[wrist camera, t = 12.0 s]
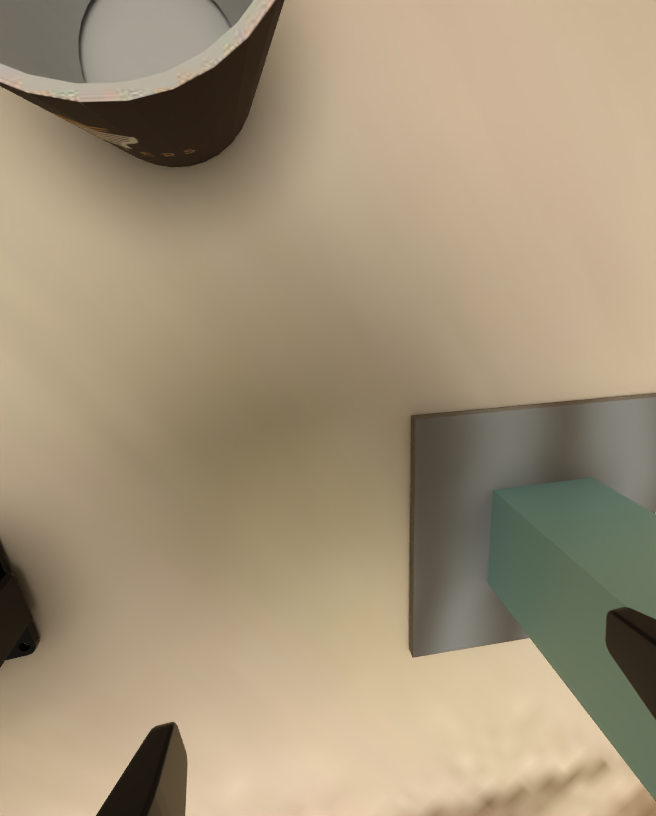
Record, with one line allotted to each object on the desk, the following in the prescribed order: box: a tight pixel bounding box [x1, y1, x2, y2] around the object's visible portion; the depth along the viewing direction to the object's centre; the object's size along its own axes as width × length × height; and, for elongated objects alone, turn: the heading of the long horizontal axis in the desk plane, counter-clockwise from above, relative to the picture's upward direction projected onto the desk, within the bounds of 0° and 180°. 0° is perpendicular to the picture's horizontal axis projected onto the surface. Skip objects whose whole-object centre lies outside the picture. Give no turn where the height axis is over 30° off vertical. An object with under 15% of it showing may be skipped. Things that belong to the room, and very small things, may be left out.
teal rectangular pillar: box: [488, 478, 656, 801], centre depth 19 cm, size 6×6×11 cm
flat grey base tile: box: [409, 393, 656, 657], centre depth 22 cm, size 14×14×5 cm
